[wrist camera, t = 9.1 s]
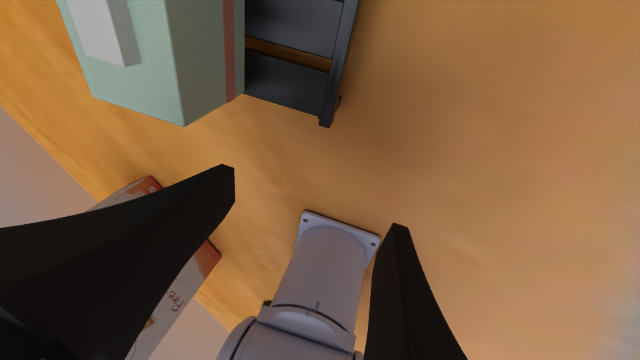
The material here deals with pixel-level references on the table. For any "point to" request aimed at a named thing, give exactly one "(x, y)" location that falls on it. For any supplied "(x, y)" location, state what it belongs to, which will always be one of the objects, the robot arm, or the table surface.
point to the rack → (304, 35)
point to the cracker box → (178, 290)
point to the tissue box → (160, 53)
